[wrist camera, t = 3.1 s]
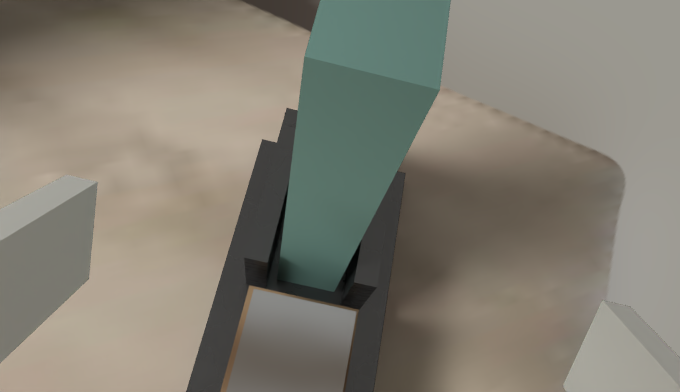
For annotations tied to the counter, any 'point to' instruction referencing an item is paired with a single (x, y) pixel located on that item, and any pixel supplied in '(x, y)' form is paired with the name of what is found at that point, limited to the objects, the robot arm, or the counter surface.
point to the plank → (355, 125)
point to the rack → (262, 270)
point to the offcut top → (292, 346)
